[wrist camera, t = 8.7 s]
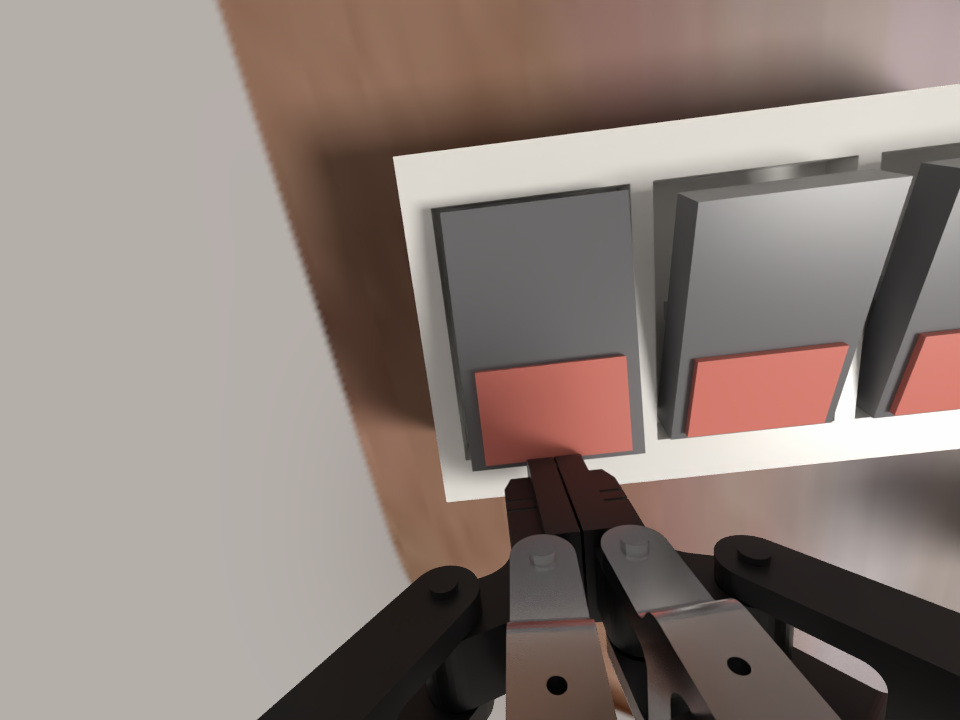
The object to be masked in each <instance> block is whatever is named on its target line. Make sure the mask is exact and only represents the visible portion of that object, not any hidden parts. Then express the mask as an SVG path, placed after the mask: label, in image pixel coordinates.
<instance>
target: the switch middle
mask: <svg viewBox="0 0 960 720" xmlns="http://www.w3.org/2000/svg"><path fill="white" fill-rule="evenodd" d="M912 178H913V176H911V175H905V174H900V173H894V172H888V171H883V170H877V169H866V170H858V171H850V172H841V173H833V174H825V175H817V176H809V177H801V178H793V179H785V180H777V181H769V182H761V183H753V184H744V185H736V186H728V187H720V188H712V189H704V190H696V191H688V192H680V193H678V195H677V205H676V216H675V227H674V237H673V248H672V259H671V269H670V280H669V291H668V301H667V312H666V323H665V333H664V344H663V355H662V365H661V376H660V387H659V397H658V408H657V417H658V419H659V421H660V422H661V424H662V426H663V427H664V429H665V431H666V432H667V434H668V436H669V437H670V439H671V440H674V439H684V438H693V437H702V436H712V435H721V434H730V433H740V432H749V431H758V430H768V429H777V428H786V427H796V426H805V425H814V424H824V423H832V421H833V418H834V415H835V412H836V409H837V405H838V402H839V399H840V396H841V393H842V390H843V387H844V384H845V381H846V378H847V375H848V372H849V369H850V366H851V363H852V360H853V357H854V354H855V351H856V348H857V345H858V342H859V339H860V336H861V333H862V330H863V327H864V324H865V321H866V318H867V315H868V312H869V309H870V305H871V302H872V299H873V296H874V293H875V290H876V287H877V284H878V281H879V278H880V275H881V272H882V269H883V266H884V263H885V260H886V257H887V254H888V251H889V248H890V245H891V242H892V239H893V236H894V233H895V230H896V227H897V224H898V221H899V218H900V215H901V212H902V208H903V205H904V202H905V199H906V196H907V193H908V190H909V187H910V184H911V181H912Z"/></svg>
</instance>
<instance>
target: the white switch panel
mask: <svg viewBox="0 0 960 720" xmlns="http://www.w3.org/2000/svg"><path fill="white" fill-rule="evenodd" d="M954 158H960V84H955V85H947V86H939V87H932V88H924V89H916V90H908V91H900V92H893V93H885V94H877V95H869V96H862V97H854V98H846V99H838V100H830V101H823V102H815V103H807V104H799V105H792V106H784V107H776V108H768V109H760V110H753V111H745V112H737V113H729V114H722V115H714V116H706V117H698V118H690V119H683V120H675V121H667V122H659V123H652V124H644V125H636V126H628V127H620V128H613V129H605V130H597V131H589V132H582V133H574V134H566V135H558V136H550V137H543V138H535V139H527V140H519V141H512V142H504V143H496V144H488V145H481V146H473V147H465V148H457V149H449V150H442V151H434V152H426V153H418V154H411V155H403V156H395V157H393V161H394V167H395V174H396V180H397V186H398V193H399V199H400V206H401V212H402V219H403V225H404V231H405V238H406V244H407V251H408V257H409V263H410V270H411V276H412V283H413V289H414V296H415V302H416V308H417V315H418V321H419V328H420V334H421V341H422V347H423V353H424V360H425V366H426V373H427V379H428V385H429V392H430V398H431V405H432V411H433V418H434V424H435V430H436V437H437V443H438V450H439V456H440V463H441V469H442V475H443V482H444V488H445V495H446V501H447V502H454V501H463V500H473V499H482V498H492V497H502V496H505V491H504V489H505V488H506V486H507V484H508V483H509V481H510V479H516V478H525V477H528V473H527V466H521V467H512V468H502V469H493V470H483V471H474V472H473V471H472V463H471V455H470V447H469V439H468V431H467V423H466V415H465V408H464V400H463V392H462V384H461V376H460V368H459V360H458V352H457V344H456V336H455V328H454V320H453V312H452V305H451V297H450V289H449V281H448V273H447V265H446V257H445V249H444V241H443V233H442V225H441V217H440V213H443V212H451V211H460V210H468V209H476V208H484V207H492V206H500V205H508V204H516V203H524V202H532V201H540V200H548V199H556V198H564V197H572V196H580V195H588V194H596V193H604V192H612V191H620V190H629V206H630V221H631V236H632V252H633V267H634V283H635V298H636V313H637V329H638V344H639V360H640V375H641V391H642V406H643V421H644V437H645V452H646V453H643V454H634V455H624V456H615V457H606V458H596V459H587V460H584V462H585V464H586V466H587V468H588V470H596V469H603V470H604V471H606V472H607V473H609V474H611V475H612V476H614V477H615V478H616V480H617V481H618V483H619V484H626V483H636V482H645V481H655V480H664V479H674V478H684V477H693V476H703V475H712V474H722V473H731V472H741V471H751V470H760V469H770V468H779V467H789V466H798V465H808V464H818V463H827V462H837V461H846V460H856V459H865V458H875V457H885V456H894V455H904V454H913V453H923V452H932V451H942V450H952V449H960V409H958V410H949V411H940V412H930V413H921V414H912V415H902V416H893V417H884V418H874V419H873V418H872V417H871V416H869V415H868V414H867V413H866V412H864V411H863V410H862V409H860V408H859V407H858V406H857V405H856V398H857V389H858V379H859V370H860V360H861V350H862V342H863V339H864V336H865V333H866V330H867V327H868V324H869V321H870V318H871V315H872V311H873V308H874V305H875V302H876V299H877V296H878V293H879V290H880V287H881V284H882V281H883V278H884V275H885V272H886V269H887V266H888V263H889V260H890V257H891V254H892V251H893V248H894V245H895V241H896V238H897V235H898V232H899V229H900V226H901V223H902V220H903V217H904V214H905V211H906V208H907V205H908V202H909V199H910V196H911V193H912V190H913V187H914V184H915V181H916V178H917V175H918V172H919V168H920V165H921V163H922V162H930V161H938V160H946V159H954ZM866 169H877V170H883V171H888V172H894V173H900V174H905V175H911V176H913V178H912V181H911V184H910V187H909V190H908V193H907V196H906V199H905V202H904V205H903V208H902V212H901V215H900V218H899V221H898V224H897V227H896V230H895V233H894V236H893V239H892V242H891V245H890V248H889V251H888V254H887V257H886V260H885V263H884V266H883V269H882V272H881V275H880V278H879V281H878V284H877V287H876V290H875V293H874V296H873V299H872V302H871V305H870V309H869V312H868V315H867V318H866V321H865V324H864V327H863V330H862V333H861V336H860V339H859V342H858V345H857V348H856V351H855V354H854V357H853V360H852V363H851V366H850V369H849V372H848V375H847V378H846V381H845V384H844V387H843V390H842V393H841V396H840V399H839V402H838V405H837V409H836V412H835V415H834V418H833V421H832V423H824V424H814V425H805V426H796V427H786V428H777V429H768V430H758V431H749V432H740V433H730V434H721V435H712V436H702V437H693V438H684V439H674V440H671V439H670V437H669V436H668V434H667V432H666V431H665V429H664V427H663V426H662V424H661V422H660V421H659V419H658V417H657V408H658V397H659V387H660V376H661V365H662V355H663V344H664V333H665V323H666V312H667V301H668V291H669V280H670V269H671V259H672V248H673V237H674V227H675V216H676V205H677V195H678V193H680V192H688V191H696V190H704V189H712V188H720V187H728V186H736V185H744V184H753V183H761V182H769V181H777V180H785V179H793V178H801V177H809V176H817V175H825V174H833V173H841V172H850V171H858V170H866Z"/></svg>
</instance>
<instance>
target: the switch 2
mask: <svg viewBox="0 0 960 720" xmlns="http://www.w3.org/2000/svg"><path fill="white" fill-rule="evenodd" d="M856 405H857V406H858V407H859V408H860V409H862V410H863V411H864V412H866V413H867V414H868V415H869V416H871V417H872V418H873V419H874V418H884V417H893V416H902V415H912V414H921V413H930V412H940V411H949V410H958V409H960V158H954V159H946V160H938V161H930V162H922V163H921V165H920V168H919V172H918V175H917V178H916V181H915V184H914V187H913V190H912V193H911V196H910V199H909V202H908V205H907V208H906V211H905V214H904V217H903V220H902V223H901V226H900V229H899V232H898V235H897V238H896V241H895V245H894V248H893V251H892V254H891V257H890V260H889V263H888V266H887V269H886V272H885V275H884V278H883V281H882V284H881V287H880V290H879V293H878V296H877V299H876V302H875V305H874V308H873V311H872V315H871V318H870V321H869V324H868V327H867V330H866V333H865V336H864V339H863V342H862V350H861V360H860V370H859V379H858V389H857V398H856Z"/></svg>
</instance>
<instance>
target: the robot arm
mask: <svg viewBox="0 0 960 720" xmlns="http://www.w3.org/2000/svg"><path fill="white" fill-rule="evenodd" d="M527 473H528V477H525V478H516V479H510V481H509V483H508V484H507V486H506V488H505V489H504V491H505V500H506V509H507V518H508V526H509V535H510V544H511V552H510V558H509V560H508V561H507V563H506V564H505V565H504V566H503V567H502V568H500V569H499V570H497V571H496V572H494V573H492V574H490V575H487V576H485V577H482V578H479V579H477V577H476V576H475V574H474V573H473V572H471V571H470V570H468V569H466V568H463V567H460V566H443V567H438V568H435V569H432V570H430V571H428V572H426V573H425V574H423V575H422V576H420V577H419V578H418V579H417V580H416V581H414V582H413V583H412V584H411V585H410V586H409V587H408V588H407V589H405V590H404V591H403V592H402V593H401V594H400V595H399V596H398V597H396V598H395V599H394V600H393V601H392V602H391V603H390V604H388V605H387V606H386V607H385V608H384V609H383V610H381V611H380V612H379V613H378V614H377V615H376V616H375V617H374V618H372V619H371V620H370V621H369V622H368V623H367V624H366V625H364V627H362V628H361V629H360V630H359V631H358V632H356V633H355V634H354V635H353V636H352V637H351V638H350V639H348V640H347V642H345V643H344V644H343V645H342V646H341V647H339V648H338V649H337V650H336V651H335V652H334V653H333V654H331V656H329V657H328V658H327V659H326V660H325V661H324V662H322V664H320V665H319V666H318V667H317V668H315V669H314V670H313V671H312V672H311V673H310V674H309V675H308V676H306V677H305V678H304V679H303V680H302V681H301V682H300V683H299V684H297V685H296V686H295V687H294V688H293V689H292V690H290V691H289V692H288V693H287V694H286V695H285V696H284V697H282V698H281V699H280V700H279V701H278V702H277V703H276V704H274V705H273V706H272V707H271V708H270V709H269V710H268V711H267V712H265V713H264V714H263V715H262V716H261V717H260V718H259V719H258V720H487V719H488V717H489V715H490V714H491V712H492V709H493V705H494V699H496V698H498V697H500V696H502V695H504V694H506V720H617V717H616V713H615V708H614V704H613V699H612V695H611V690H610V686H609V682H608V677H607V673H606V668H605V664H604V659H603V655H602V651H601V646H600V642H599V637H598V633H597V628H596V624H595V622H603V624H604V627H605V630H606V642H607V653H608V656H609V658H610V661H611V663H612V666H613V668H614V670H615V673H616V675H617V678H618V680H619V682H620V685H621V687H622V689H623V692H624V694H625V697H626V699H627V701H628V704H629V706H630V709H631V711H632V713H633V716H634V718H635V720H960V613H958V612H955V611H953V610H950V609H947V608H945V607H942V606H939V605H937V604H934V603H932V602H929V601H926V600H924V599H921V598H918V597H916V596H913V595H911V594H908V593H905V592H903V591H900V590H897V589H895V588H892V587H890V586H887V585H884V584H882V583H879V582H876V581H874V580H871V579H868V578H866V577H863V576H861V575H858V574H855V573H853V572H850V571H847V570H845V569H842V568H840V567H837V566H834V565H832V564H829V563H826V562H824V561H821V560H819V559H816V558H813V557H811V556H808V555H805V554H803V553H800V552H798V551H795V550H792V549H790V548H787V547H784V546H782V545H779V544H777V543H774V542H771V541H769V540H766V539H763V538H759V537H755V536H748V535H734V536H729V537H725V538H723V539H721V540H720V541H718V542H717V543H716V545H715V547H714V556H711V555H702V554H693V553H686V552H681V551H677V550H674V548H673V547H672V546H671V544H670V543H669V542H668V541H667V539H666V538H665V537H664V536H663V535H661V534H660V533H659V532H657V531H655V530H653V529H650V528H647V527H645V526H644V524H643V523H642V521H641V519H640V518H639V516H638V514H637V513H636V511H635V509H634V508H633V506H632V504H631V503H630V501H629V499H627V496H626V495H625V493H624V491H623V490H622V488H621V486H620V485H619V483H618V481H617V480H616V478H615V477H614V476H612V475H611V474H609V473H607V472H606V471H604V470H603V469H596V470H588V468H587V466H586V464H585V462H584V460H583V458H582V456H581V454H572V455H563V456H554V459H553V457H546V458H537V459H528V460H527ZM794 627H795V628H797V629H799V630H801V631H803V632H805V633H807V634H810V635H812V636H814V637H816V638H818V639H820V640H822V641H824V642H826V643H828V644H830V645H832V646H834V647H836V648H838V649H840V650H842V651H844V652H846V653H848V654H850V655H852V656H854V657H856V658H858V659H860V660H862V661H864V662H866V663H867V664H869V665H870V666H871V667H872V668H874V669H875V670H876V671H877V672H878V673H879V674H880V675H881V677H882V678H883V680H884V681H885V683H886V685H887V688H888V693H883V692H880V691H878V690H876V689H873V688H872V687H870V686H868V685H866V684H864V683H862V682H860V681H858V680H856V679H854V678H852V677H850V676H849V675H847V674H845V673H843V672H841V671H839V670H837V669H835V668H833V667H831V666H829V665H827V664H825V663H824V662H822V661H820V660H818V659H816V658H814V657H812V656H810V655H808V654H806V653H804V652H802V651H801V650H799V649H797V648H795V647H793V633H794Z"/></svg>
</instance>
